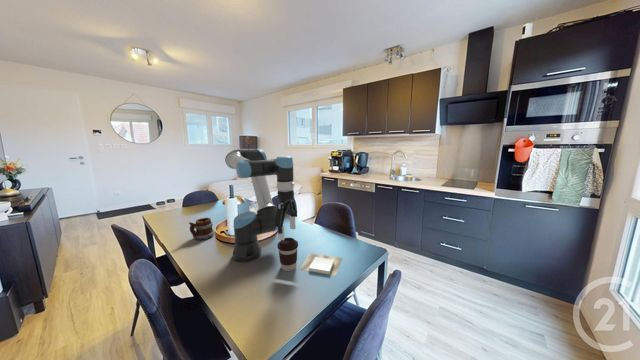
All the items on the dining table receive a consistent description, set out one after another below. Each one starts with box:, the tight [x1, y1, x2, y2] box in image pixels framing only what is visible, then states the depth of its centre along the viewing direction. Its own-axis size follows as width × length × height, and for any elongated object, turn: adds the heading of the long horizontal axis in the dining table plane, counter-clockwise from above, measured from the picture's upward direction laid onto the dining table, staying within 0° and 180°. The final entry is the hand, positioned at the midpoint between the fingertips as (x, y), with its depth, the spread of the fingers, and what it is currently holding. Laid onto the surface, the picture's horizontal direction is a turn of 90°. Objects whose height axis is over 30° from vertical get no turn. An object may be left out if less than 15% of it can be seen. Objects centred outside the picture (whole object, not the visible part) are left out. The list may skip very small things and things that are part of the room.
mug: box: [188, 217, 215, 241], centre depth 143 cm, size 12×14×15 cm
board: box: [299, 253, 343, 277], centre depth 110 cm, size 18×16×1 cm
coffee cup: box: [277, 237, 299, 272], centre depth 106 cm, size 10×10×15 cm
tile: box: [308, 257, 334, 276], centre depth 106 cm, size 10×2×10 cm
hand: (287, 233), depth 104 cm, fingers open, 12 cm apart
